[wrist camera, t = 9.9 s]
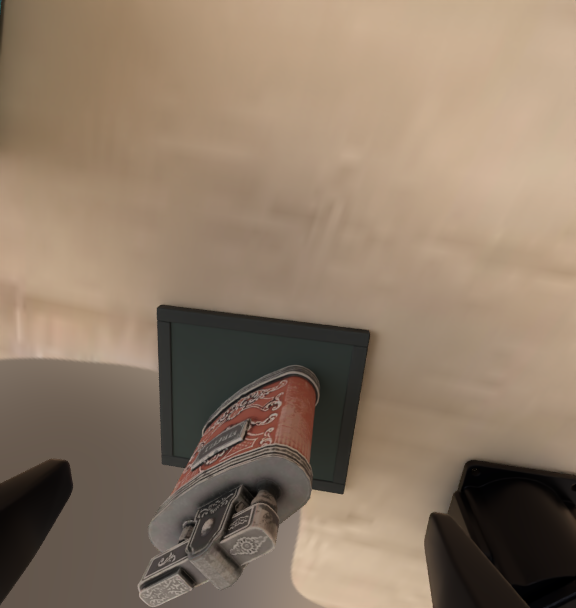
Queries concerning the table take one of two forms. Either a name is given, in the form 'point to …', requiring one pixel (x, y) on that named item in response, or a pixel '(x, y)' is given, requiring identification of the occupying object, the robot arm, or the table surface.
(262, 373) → the desk mat
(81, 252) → the table surface
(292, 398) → the lighter
